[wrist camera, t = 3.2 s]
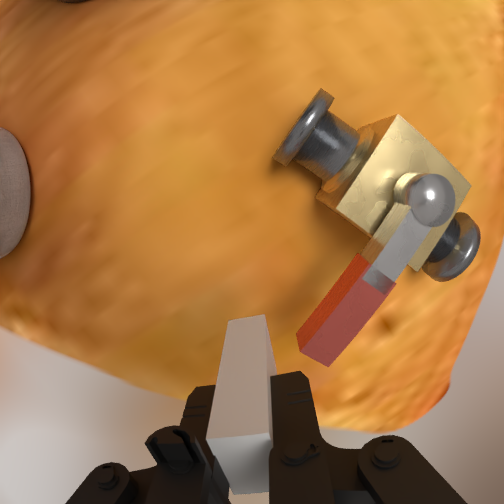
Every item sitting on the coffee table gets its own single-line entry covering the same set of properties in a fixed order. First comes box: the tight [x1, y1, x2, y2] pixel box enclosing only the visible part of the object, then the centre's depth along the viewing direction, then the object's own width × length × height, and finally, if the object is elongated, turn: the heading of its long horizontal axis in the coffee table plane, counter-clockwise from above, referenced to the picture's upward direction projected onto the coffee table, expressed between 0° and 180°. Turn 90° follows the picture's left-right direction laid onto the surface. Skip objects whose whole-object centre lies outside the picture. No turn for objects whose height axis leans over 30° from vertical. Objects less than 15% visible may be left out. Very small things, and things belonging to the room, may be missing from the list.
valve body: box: [272, 89, 480, 282], centre depth 24 cm, size 18×8×8 cm, turn 57°
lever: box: [296, 172, 455, 367], centre depth 19 cm, size 14×3×3 cm, turn 147°
